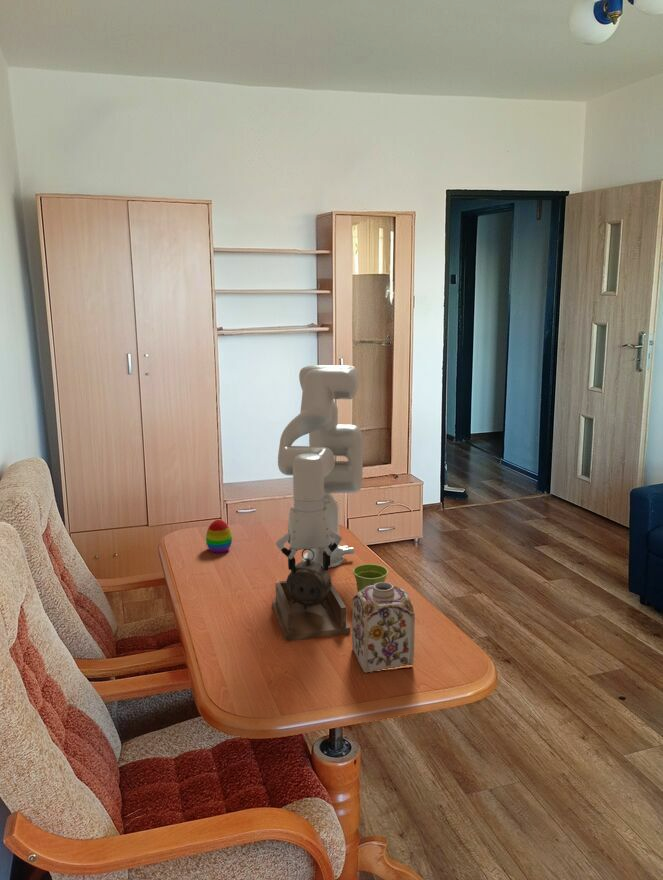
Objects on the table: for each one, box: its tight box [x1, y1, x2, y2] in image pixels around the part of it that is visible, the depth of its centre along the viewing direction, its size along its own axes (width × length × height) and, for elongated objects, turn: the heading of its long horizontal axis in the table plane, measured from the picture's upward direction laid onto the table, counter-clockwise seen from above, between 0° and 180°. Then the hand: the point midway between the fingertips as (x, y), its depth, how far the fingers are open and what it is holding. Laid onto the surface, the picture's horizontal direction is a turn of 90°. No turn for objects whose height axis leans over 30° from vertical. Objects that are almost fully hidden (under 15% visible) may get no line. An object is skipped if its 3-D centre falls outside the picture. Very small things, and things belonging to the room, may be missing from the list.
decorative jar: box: [351, 581, 416, 674], centre depth 163 cm, size 12×12×18 cm
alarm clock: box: [286, 549, 332, 611], centre depth 181 cm, size 11×5×16 cm, turn 71°
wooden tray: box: [271, 580, 351, 642], centre depth 183 cm, size 16×20×6 cm
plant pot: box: [352, 563, 389, 593], centre depth 193 cm, size 9×9×9 cm
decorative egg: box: [205, 519, 233, 554], centre depth 229 cm, size 8×8×10 cm
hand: (309, 569), depth 181 cm, fingers closed on alarm clock, 7 cm apart
